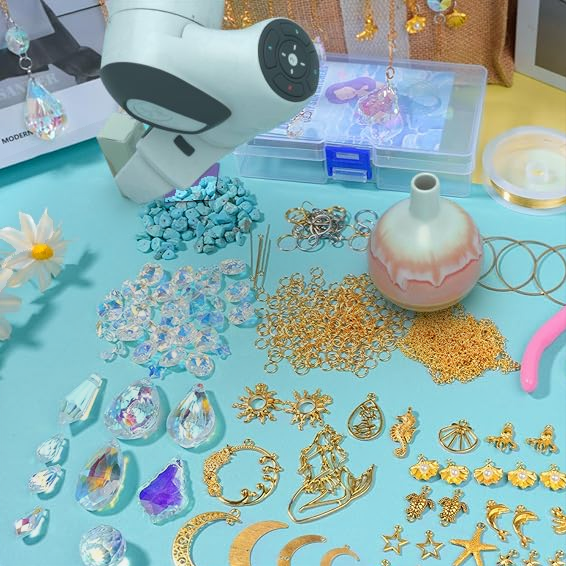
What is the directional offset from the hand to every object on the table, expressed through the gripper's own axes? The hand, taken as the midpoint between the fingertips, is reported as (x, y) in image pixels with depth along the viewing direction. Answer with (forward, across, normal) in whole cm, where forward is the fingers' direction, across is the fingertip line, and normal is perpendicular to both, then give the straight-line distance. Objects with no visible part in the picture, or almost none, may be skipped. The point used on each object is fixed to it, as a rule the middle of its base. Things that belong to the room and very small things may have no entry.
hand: (162, 140), depth 95 cm
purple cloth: (+17, -6, +9) cm, 20 cm away
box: (+21, -2, +5) cm, 22 cm away
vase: (-11, -6, +33) cm, 35 cm away
